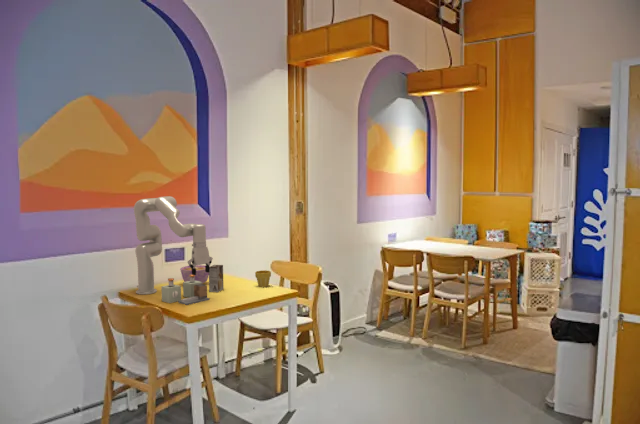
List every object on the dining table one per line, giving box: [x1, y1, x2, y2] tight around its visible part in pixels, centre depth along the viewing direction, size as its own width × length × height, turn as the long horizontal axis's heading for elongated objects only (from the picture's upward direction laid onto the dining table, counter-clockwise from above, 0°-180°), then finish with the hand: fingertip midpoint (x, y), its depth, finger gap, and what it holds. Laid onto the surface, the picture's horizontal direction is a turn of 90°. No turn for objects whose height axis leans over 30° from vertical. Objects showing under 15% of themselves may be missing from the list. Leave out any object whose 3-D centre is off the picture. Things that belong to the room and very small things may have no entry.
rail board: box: [177, 296, 211, 306], centre depth 309 cm, size 9×16×2 cm, turn 139°
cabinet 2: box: [182, 281, 202, 298], centre depth 321 cm, size 8×8×9 cm
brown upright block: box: [194, 283, 208, 299], centre depth 312 cm, size 6×5×8 cm
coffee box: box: [208, 264, 224, 293], centre depth 336 cm, size 9×6×16 cm
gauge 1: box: [167, 277, 175, 287], centre depth 309 cm, size 3×3×7 cm
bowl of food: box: [179, 264, 211, 284], centre depth 354 cm, size 20×20×12 cm
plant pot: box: [254, 269, 272, 288], centre depth 348 cm, size 10×10×10 cm
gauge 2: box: [189, 274, 195, 283], centre depth 321 cm, size 3×3×7 cm
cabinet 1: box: [160, 284, 182, 304], centre depth 310 cm, size 8×8×9 cm
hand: (200, 273), depth 311 cm, fingers open, 9 cm apart
